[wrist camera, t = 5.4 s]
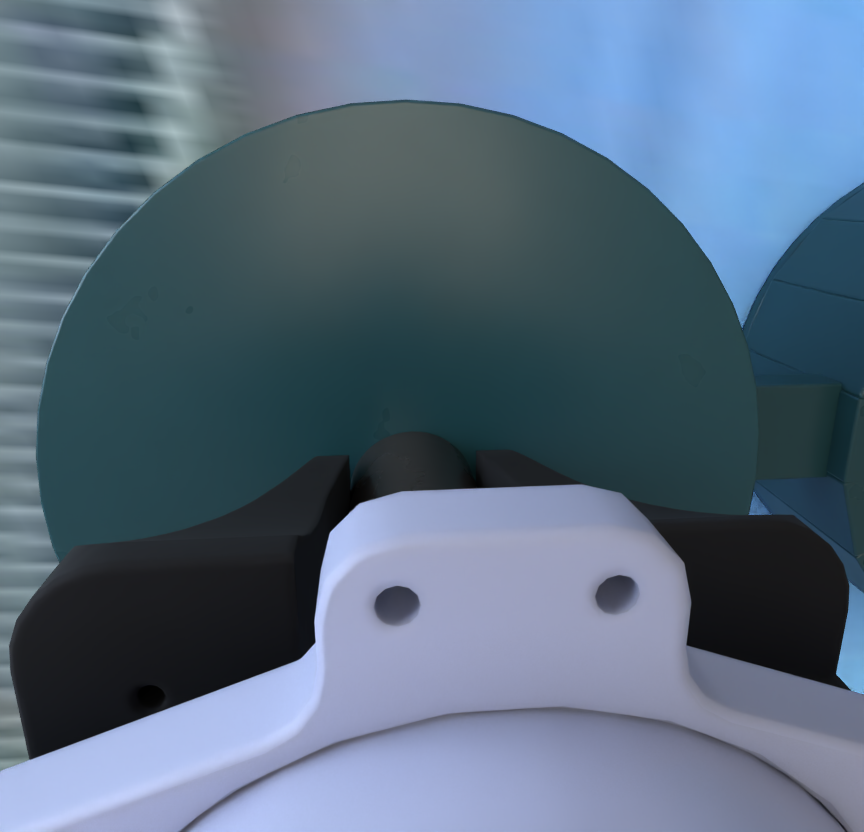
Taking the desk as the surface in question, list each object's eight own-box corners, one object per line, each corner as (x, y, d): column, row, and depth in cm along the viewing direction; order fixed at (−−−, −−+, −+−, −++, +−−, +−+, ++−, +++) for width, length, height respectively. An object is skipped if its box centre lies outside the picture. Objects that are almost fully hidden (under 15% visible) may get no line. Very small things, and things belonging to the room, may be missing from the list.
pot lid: (697, 722, 18) (795, 881, 14) (111, 760, 17) (29, 944, 13) (776, 106, 14) (951, 74, 10) (-2, 105, 13) (-181, 67, 8)
